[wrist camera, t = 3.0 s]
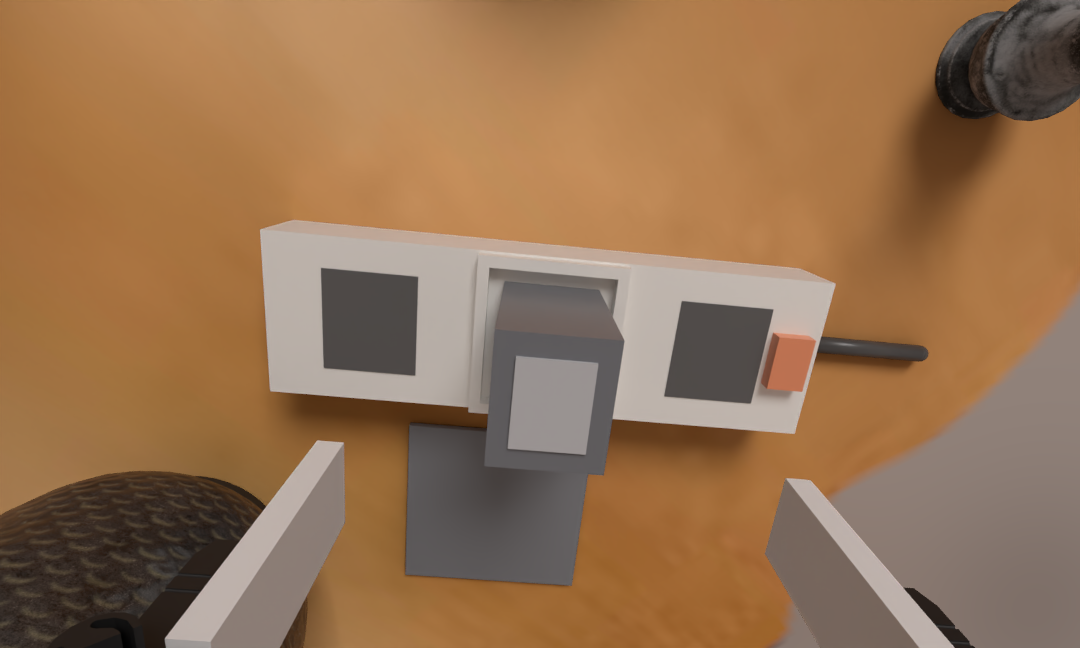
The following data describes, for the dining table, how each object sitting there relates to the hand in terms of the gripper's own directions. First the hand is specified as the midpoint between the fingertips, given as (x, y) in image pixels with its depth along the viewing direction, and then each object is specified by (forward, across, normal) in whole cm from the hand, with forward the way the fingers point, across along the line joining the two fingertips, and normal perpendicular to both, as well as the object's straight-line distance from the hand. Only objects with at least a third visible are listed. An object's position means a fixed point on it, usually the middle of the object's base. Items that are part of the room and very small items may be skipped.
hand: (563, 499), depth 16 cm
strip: (+18, +4, 0) cm, 18 cm away
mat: (+18, -2, -14) cm, 23 cm away
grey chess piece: (+18, +22, +17) cm, 33 cm away
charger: (+14, 0, 0) cm, 14 cm away
